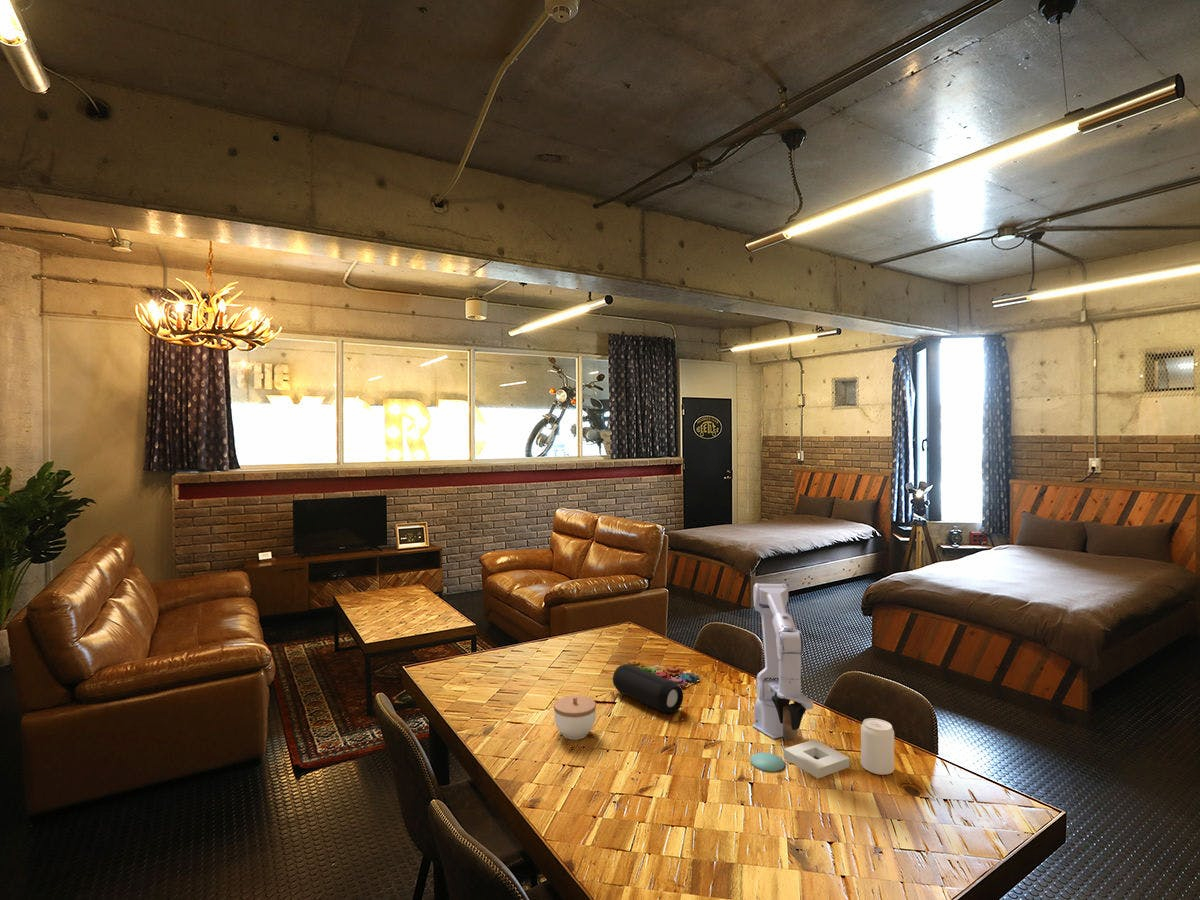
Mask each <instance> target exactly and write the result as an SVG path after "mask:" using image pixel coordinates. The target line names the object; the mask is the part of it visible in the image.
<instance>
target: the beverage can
mask: <svg viewBox="0 0 1200 900" xmlns="http://www.w3.org/2000/svg"><path fill="white" fill-rule="evenodd" d="M894 730H895V729H893V725H892V724H891V723H890V722H888V721H886V720H884V719H881V718H880V719H879V718H875V717H874V718H873V717H871V718H870V717H869V718H865V719H863V721H862V723H861V725H860V765H861V767H862V768H864V769H865V771H866V770H867V771H868V772H870V773H872V774H875V775H879V776H880V775H881V776H884V775H889V774H892V773H893V772H894V771H895V731H894Z"/></svg>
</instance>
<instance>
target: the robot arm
mask: <svg viewBox="0 0 1200 900" xmlns="http://www.w3.org/2000/svg"><path fill="white" fill-rule="evenodd" d="M752 595H753V607H754V610H755V611H756V612H758V613H760V614H759V615H760V617H761V625H762V627H761V628H762V638H763V639H762V640H763V642H762V643H763V652H764V665H765V666H764V668H763V669H762V670H760V672H758V673H757V675H756V696H757V698H756V700H755V702H754V706H753V707H754V709H753V711H754V719H753V720H754V724H752V725H751V726H752V727H753V728H754V729H756V730H758V731H760V732H761V733H763V734H765V735H766V736H768V737H770V738H771V739H773V740H776V739H778V738H783V706H786V705H788V707H789V710H790V714H791V726H792V729H793V730H797V731H798V730H799V729H800V727H801V724H802V723H801V722H802V720H803V717H804V716H805V715H804V714H805V713H806V711H807V710H808V711H809V710H812V709H814V701H813V700H812V699H810V698H808V696H806V695H805V694H804V693H803V692H802V689H801V687H802V685H801V684H802V683H801V682H802V679H801V678H802V676H801V675H802V673H801V672H802V670H801V669H802V667H801V666H802V663H801V661H802V660H801V659H802V654H804V651H805V647H804V646H805V645H804V644H805V642H804V636H803V633H802V632H801V631H800V630H799V629H797V628H796V624H795V622H794V620H793V617H792V615H791V614H790V613H787V609H786V607H787V603H788V602H789V588H788V586H787V585H786V583H784V582H783V583H759V582H756V583H754V585H753V589H752ZM769 678H770V679H769ZM790 702H793V703H790Z"/></svg>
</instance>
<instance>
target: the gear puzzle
mask: <svg viewBox="0 0 1200 900" xmlns="http://www.w3.org/2000/svg"><path fill="white" fill-rule="evenodd" d="M626 664H630V665H633V666H635V667H638V668H640V669H643V670H645V671H648V672H650V673H653V674H655V675H658V676H660V677H663V678H665V679H668V680H670V681H673V682H675V683H676V684H677V685H678V686H679V687H682V688H683V689H684V688H686V687H685V686H687V685H689V684H688V683H690V684H691V683H693V682H694V683H698V682H697V680H700V679H701V677H699V675H698V674H695V673H694V672H693V671H690V672H686V673H684V670H683V669H680V668H679V667H677V666H673V665H672V666H667V667H668V668H666V669H665V668H664V670H663V668H662V667H664V666H665V665H664V666H663V665H660V666H659V664H654V665H655V666H654V665H651V666H650V665H648V666H646V667H645V665H644V663H643V662H642V661H641V662H640V661H639V660H637V659H629V660H628V661H626V662H624V663H623V665H626ZM647 667H649V668H647ZM656 667H660V668H662V670H663V672H660V671H661V670H660V669H657V668H656ZM654 668H656V670H655V669H654ZM656 671H657V672H656ZM671 676H672V678H671ZM676 676H678V677H676ZM686 682H687V683H686ZM682 688H681V689H682Z"/></svg>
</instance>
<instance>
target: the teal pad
mask: <svg viewBox="0 0 1200 900" xmlns="http://www.w3.org/2000/svg"><path fill="white" fill-rule="evenodd" d="M750 764H751V766H753V767H754V768H755V769H757V770H759V771H763V772H766V773H767V772H768V773H769V772H770V773H777V772H780V771H782V770H784V769H785V764H786V763H785V760H784V759H783V758H782V757H780V756H779V755H777V754H774V753H770V752H756V753H754V754H753V755H751V756H750Z"/></svg>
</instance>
